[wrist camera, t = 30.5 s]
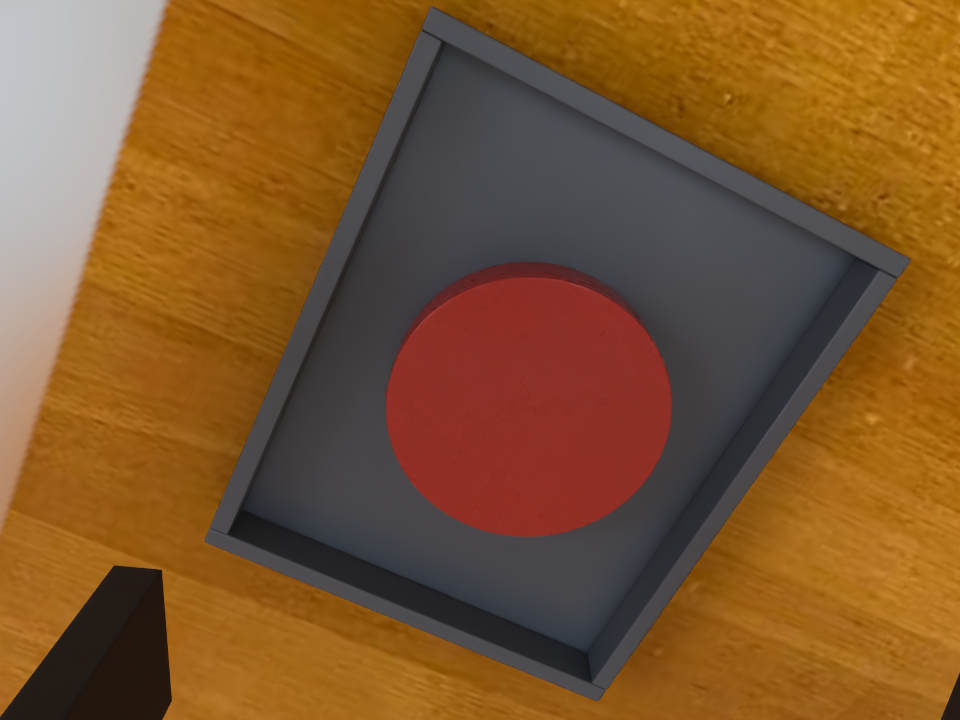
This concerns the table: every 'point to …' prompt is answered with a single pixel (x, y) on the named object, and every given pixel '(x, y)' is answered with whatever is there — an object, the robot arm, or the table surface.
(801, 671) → the table surface
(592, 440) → the jar lid
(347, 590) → the tray
